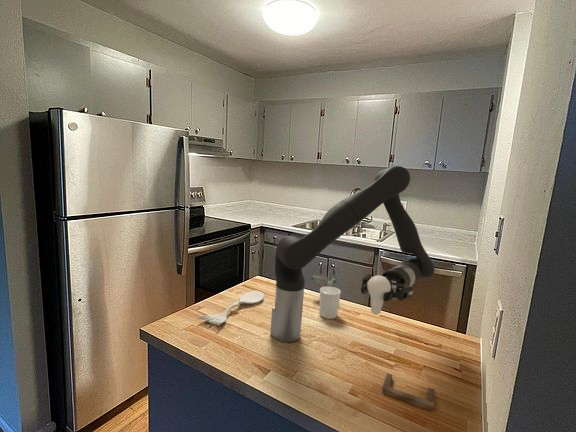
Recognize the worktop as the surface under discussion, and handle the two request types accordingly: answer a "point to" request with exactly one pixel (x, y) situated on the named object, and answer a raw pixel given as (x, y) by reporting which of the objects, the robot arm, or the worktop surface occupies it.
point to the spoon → (245, 298)
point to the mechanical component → (322, 281)
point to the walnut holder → (409, 395)
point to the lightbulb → (377, 292)
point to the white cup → (329, 302)
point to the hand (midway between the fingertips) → (373, 294)
